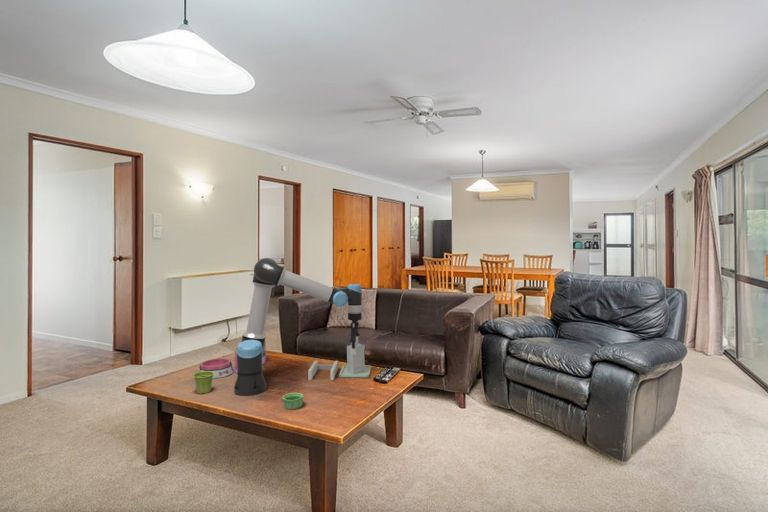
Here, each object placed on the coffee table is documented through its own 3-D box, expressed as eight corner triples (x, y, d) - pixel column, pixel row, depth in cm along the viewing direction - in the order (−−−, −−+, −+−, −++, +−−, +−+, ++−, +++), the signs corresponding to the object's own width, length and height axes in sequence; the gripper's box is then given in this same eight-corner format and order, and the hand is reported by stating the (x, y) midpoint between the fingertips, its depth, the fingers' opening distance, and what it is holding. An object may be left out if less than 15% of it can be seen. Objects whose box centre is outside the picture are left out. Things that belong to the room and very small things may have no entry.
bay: (333, 379, 220) (333, 370, 219) (308, 379, 220) (308, 370, 220) (338, 368, 239) (338, 359, 239) (315, 368, 239) (315, 359, 239)
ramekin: (298, 400, 192) (297, 391, 191) (306, 406, 184) (306, 396, 184) (279, 405, 186) (279, 395, 186) (287, 411, 179) (287, 401, 179)
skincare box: (358, 369, 236) (358, 342, 235) (365, 371, 231) (365, 344, 231) (346, 372, 231) (346, 345, 230) (353, 374, 226) (352, 347, 225)
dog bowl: (234, 376, 227) (234, 364, 227) (197, 381, 220) (196, 368, 220) (233, 367, 244) (232, 355, 244) (198, 371, 237) (197, 359, 237)
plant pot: (218, 390, 206) (218, 372, 205) (201, 396, 198) (201, 378, 197) (206, 387, 211) (205, 370, 210) (189, 393, 202) (188, 375, 202)
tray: (369, 378, 222) (369, 375, 222) (338, 378, 222) (338, 375, 222) (370, 367, 240) (370, 365, 240) (343, 367, 240) (343, 365, 240)
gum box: (246, 374, 230) (245, 349, 230) (233, 373, 232) (232, 349, 231) (266, 362, 254) (265, 339, 254) (254, 361, 255) (253, 339, 255)
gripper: (359, 316, 218) (359, 357, 218) (363, 308, 242) (363, 345, 243) (345, 316, 218) (345, 357, 218) (350, 308, 243) (350, 345, 243)
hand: (354, 351), depth 231 cm, fingers open, 13 cm apart
